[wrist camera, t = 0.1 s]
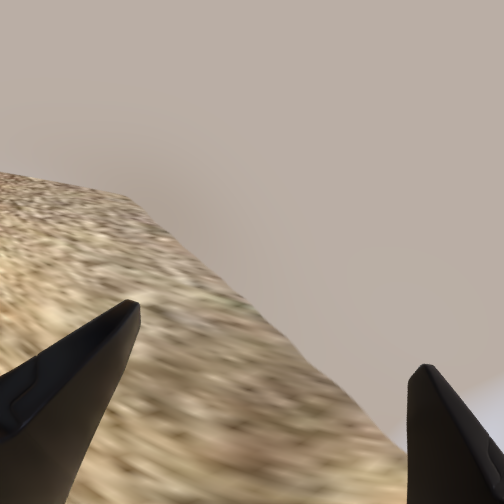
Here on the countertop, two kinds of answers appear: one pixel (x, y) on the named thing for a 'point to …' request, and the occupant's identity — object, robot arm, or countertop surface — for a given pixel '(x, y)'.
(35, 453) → the robot arm
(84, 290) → the countertop surface
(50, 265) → the countertop surface
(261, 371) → the countertop surface
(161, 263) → the countertop surface
